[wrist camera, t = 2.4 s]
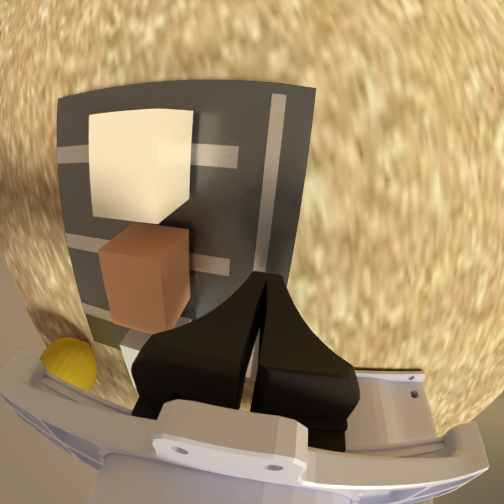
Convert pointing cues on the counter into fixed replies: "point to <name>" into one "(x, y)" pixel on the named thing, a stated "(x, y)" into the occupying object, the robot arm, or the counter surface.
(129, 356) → the block
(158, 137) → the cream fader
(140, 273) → the block
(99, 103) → the panel
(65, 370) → the lemon
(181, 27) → the counter surface
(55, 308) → the counter surface
